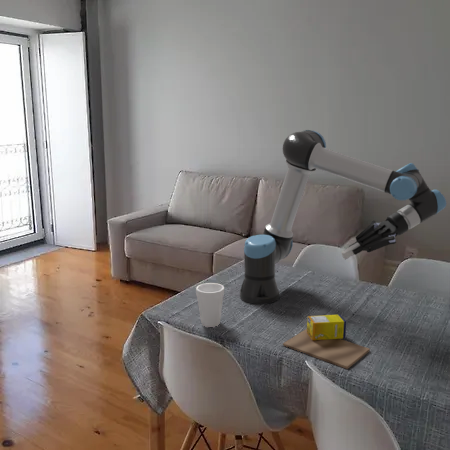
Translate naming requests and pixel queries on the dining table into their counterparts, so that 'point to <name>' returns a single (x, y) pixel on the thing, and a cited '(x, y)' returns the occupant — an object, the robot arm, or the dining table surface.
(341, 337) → the supplement box
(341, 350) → the brown flat board
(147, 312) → the dining table surface
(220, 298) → the foam cup
